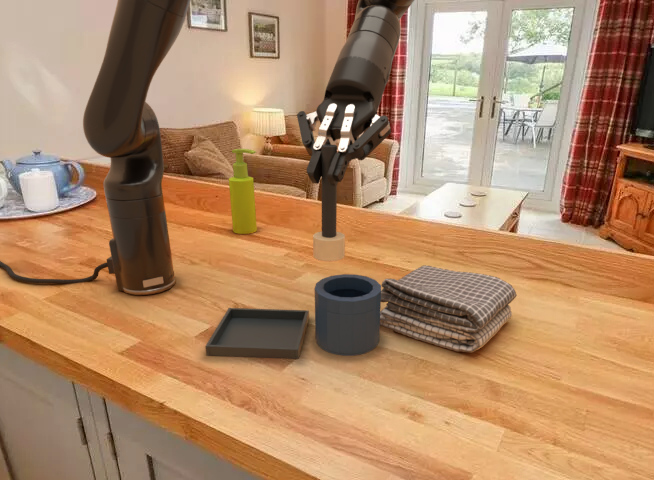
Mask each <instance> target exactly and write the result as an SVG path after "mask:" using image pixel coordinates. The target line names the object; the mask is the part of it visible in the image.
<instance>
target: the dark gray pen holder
mask: <svg viewBox="0 0 654 480" xmlns="http://www.w3.org/2000/svg"><path fill="white" fill-rule="evenodd" d="M381 291H382V284H380V282H378V281H377V280H376V279H374V278H371V277H369V276H366V275H361V274H353V273H352V274H349V273H348V274H347V273H344V274H343V273H342V274H333V275H330V276H326V277H323V278H321V279H320V280H318V281H317V282H316V283H315V286H314V327H315V329H314V331H315V343H316V344H317V346H318V347H319V348H320V349H321V350H323V351H325V352H326V353H328V354H331V355H334V356H335V355H336V356H341V357H342V356H343V357H353V356H354V357H355V356H360V355H364V354H367V353H370V352H371V351H373V350H374V349H376V347H378V345H379V343H380V329H381V326H380V311H381V307H382V305H381V304H382V302H381Z"/></svg>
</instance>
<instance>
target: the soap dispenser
mask: <svg viewBox="0 0 654 480" xmlns="http://www.w3.org/2000/svg"><path fill="white" fill-rule="evenodd" d="M256 153H257V151H256V150H255V149H250V148H235V149H232V150H231V154H235V162H234V163H232V173H233V176H231V177H229V178H228V188H229V197H230V198H229V201H230V210H231V211H230V212H231V222H232V232H233V233H234V234H239V235H249V234H253V233H255V232H257V231H258V227H257V214H256V210H257V209H256V200H255V199H256V197H255V196H256V195H255V181H254V177H252V176H249V172H248V163H247V162H245V161H244V154H249V155H254V154H256Z"/></svg>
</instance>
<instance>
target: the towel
mask: <svg viewBox="0 0 654 480" xmlns="http://www.w3.org/2000/svg"><path fill="white" fill-rule="evenodd" d="M516 298H517V292H516V290H515V288H514V286H512V284H510V283H509V282H507V281H506V280H503V279H501V278H500V277H497V276H494V275H488V274H484V273H477V272H471V271H470V272H467V271H456V270H450V269H446V268H441V267H436V266H432V265H421V266H420V267H418V268H415V269H414V270H412V271H410V272H408V274H405V275H404V276H402V277H401V278H400V279H395V278H384V280H383V281H382V282H381V303H386V306H385V307H384V308H383V309H382V310H381V309H380V327H384V328H387V329H389V330H392V331H393V332H396V333H398V334H402V335H404V336H407V337H409V338H413V339H415V340H419V341H421V342H425V343H428V344H431V345H435V347H441V348H444V349H448V350H452V351H454V352H462V353H474V352H476V351H477V350H480V348H483V347H484V346H485V345H486V344H487V343H488V342H489V341H490V340H491V339H492V338H493V337H494V336H495V335H496V334H497V333H498V332H499V331H500V330H501V329H502V327H503V326H504V325H505V324H506V323H507V322H509V321H510V320H511V319H512V317H513V312H512V307H511V305H510V304H511V303H512V302H513V301H514V300H515V299H516Z"/></svg>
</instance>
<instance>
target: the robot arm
mask: <svg viewBox="0 0 654 480" xmlns="http://www.w3.org/2000/svg"><path fill="white" fill-rule="evenodd" d="M191 2H192V0H117V2H116V7H115V11H114V14H113V19H112V22H111V25H110V30H109V35H108V39H107V44H106V48H105V52H104V56H103V59H102V62H101V65H100V67H99V71H98V73H97V76H96V80H95V82H94V85H93V87H92V90H91V92H90V95H89V97H88V100H87V103H86V106H85V108H84V112H83V118H82V130H83V133H84V137H85V139H86V141H87V143H88V145H89V146H90V148H91V149H92V150H93V151H95V153H97V154H98V155H100V156H102V157H105V158H109V159H110V164H109V165H110V166H109V170H108V172H107V174H106V176H105V177H104V180H103V192H104V196H105V202H106V208H107V212H108V219H109V223H110V227H111V233H112V238H111V239H110V240H109V241H108V246H109V250H110V256H109V257H108V258H107V259H106V262H104V263H101V264H98V265H97V266H96V267H95V268H94V269H93V274H92V275H90V276H87V277H84V278H76V279H74V278H73V279H63V278H61V279H60V278H34V277H26V276H23V275H20V274H16V273H15V272H14V270H13V269H12V268H11V267H10V266H9V265H8V264H6V263H5V262H3V261H1V260H0V267H1V268H2V269H4V270H5V271H6V272H7V274H8V275H9V277H11V278H12V279H14V280H16V281H20V282H23V283H29V284H30V283H31V284H44V285H45V284H49V285H50V284H54V285H70V284H81V283H89V282H92V281H95V280H96V279H98V277H99V275H100V271H102V270H104V269H106V268H107V269H108V274H109V275H114V278H115V283H116V287H117V291H118V292H124V293H126V294H128V295H132V296H133V295H134V296H149V295H154V294H155V295H156V294H159V293H162V292H165V291H167V290H170V289H171V288H173V287H174V286H176V285H175V284H176V282H177V280H176V276H175V270H174V263H173V256H172V249H171V241H170V234H169V227H168V219H167V214H166V207H165V200H164V194H163V193H164V192H163V191H164V190H163V179H164V173H165V168H164V167H165V166H164V155H163V145H162V136H161V129H160V124H159V120H158V117H157V115H156V113H155V111H154V109H153V108H152V106H151V105H150V104H149V103H148V102H146V101H147V96H148V93H149V90H150V86H151V83H152V81H153V78H154V76H155V75H156V72H157V71H158V69H159V68H160V66H161V64H162V62H163V61H164V60H165V58H166V56H167V55H168V54H169V52H170V51H171V49H172V47H173V45H174V44H175V42H176V40H177V39H178V37H179V35H180V33H181V31H182V28H183V25H184V23H185V21H186V17H187V15H188V12H189V11H188V10H189V8H190V4H191ZM414 2H415V0H358V1H357V5H356V9H355V14H354V21H353V23H352V25H351V28H350V30H349V32H348V35H347V38H346V41H345V42H344V44H343V46H342V48H341V49H340V51H339V54H338V55H337V56H338V57H337V59H336V62H335V63H334V67H333V69H332V72H331V74H330V77H329V78H328V79H329V80H328V82H327V85H326V87H325V91H324V96H323V100H322V102H321V103H320V104H318V106H317V107H316V110H315V111H313V112H309V113H306V111H304V110H301V111H298V113H296V119H297V123H298V127H299V133H300V137H301V143H302V145H303V146H304V148H305V150H306V152H307V154H308V156H310V159H309V162H308V164H307V167H306V174H307V176H308V178H309V179H310V182H311V183H312V184H317V185H318V184H319V183H320V182H321V180H322V171H321V146H322V145H336V146H337V153H336V152H335V154H334V157H333V160H332V162H331V165H330V168H329V171H328V173H327V179H328V181H329V183H330V185H333V186H337V187H338V184H339V183H341V182H342V181H343V179H344V177H345V174H346V171H347V168H348V165H349V163H351V162H352V161H353V160H356V159H357V160H358V161H363V160H365V159H366V158H367V157H368V156H369V155H370V154H371V153H372V152H374V150H376V148H377V147H378V146H380V144H381V143H383V141H384V140H386V138H388V136H390V134H392V129H391V124H390V121H389V118H388V116H387V115H381V116H380V115H378V110H379V107H380V104H381V101H382V98H383V95H384V92H385V89H386V86H387V84H388V82H389V79H390V74H391V71H392V64H393V60H394V57H395V54H396V51H397V48H398V45H399V42H400V38H401V32H402V31H401V30H402V29H401V28H402V27H401V19H402V17H403V16H404V15H405V13H406V12H407V11H408V9H409V8H410V7H411V6H412V5H413V3H414ZM318 122H320V125H319V127H318V130H317V136H316V139H315V136H314V132H315V131H316V127H317V123H318ZM338 140H339V142H338ZM337 143H338V145H337Z"/></svg>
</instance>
